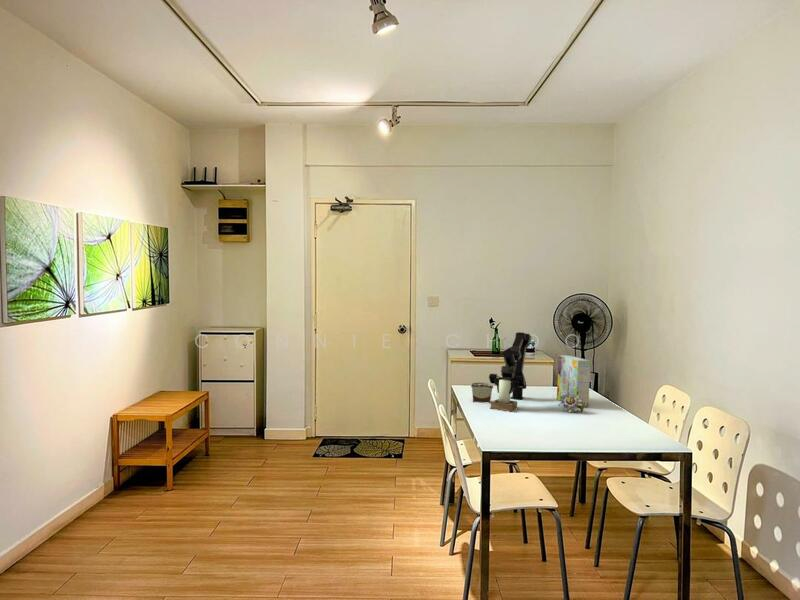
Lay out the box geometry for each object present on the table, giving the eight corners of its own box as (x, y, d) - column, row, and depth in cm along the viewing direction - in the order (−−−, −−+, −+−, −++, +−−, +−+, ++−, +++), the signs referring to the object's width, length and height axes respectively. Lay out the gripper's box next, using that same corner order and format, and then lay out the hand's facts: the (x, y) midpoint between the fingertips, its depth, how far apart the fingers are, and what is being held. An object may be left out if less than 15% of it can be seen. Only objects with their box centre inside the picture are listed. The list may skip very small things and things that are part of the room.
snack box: (589, 407, 314) (592, 360, 313) (575, 407, 312) (577, 360, 311) (569, 398, 335) (571, 354, 334) (555, 399, 333) (557, 354, 332)
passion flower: (569, 422, 299) (557, 404, 298) (565, 414, 310) (554, 396, 308) (588, 412, 297) (576, 393, 295) (584, 404, 307) (572, 386, 306)
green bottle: (505, 403, 308) (506, 378, 307) (512, 405, 302) (513, 380, 302) (495, 404, 305) (496, 379, 304) (502, 406, 300) (503, 381, 299)
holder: (498, 405, 311) (498, 398, 311) (517, 408, 305) (517, 401, 305) (489, 408, 302) (490, 402, 302) (509, 412, 296) (510, 405, 296)
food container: (492, 400, 323) (492, 382, 322) (492, 403, 317) (493, 384, 316) (470, 399, 324) (470, 381, 324) (470, 401, 318) (471, 383, 317)
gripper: (490, 358, 310) (483, 382, 301) (525, 361, 302) (519, 386, 293) (493, 371, 318) (487, 394, 308) (527, 374, 310) (522, 398, 300)
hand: (503, 393), depth 302 cm, fingers closed on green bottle, 6 cm apart
